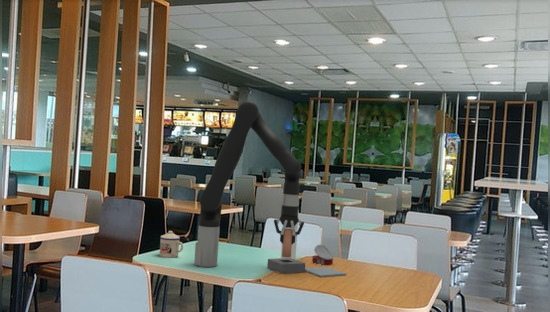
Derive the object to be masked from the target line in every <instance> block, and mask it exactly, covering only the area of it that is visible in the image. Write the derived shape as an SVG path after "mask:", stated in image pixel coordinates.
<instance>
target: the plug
mask: <svg viewBox="0 0 550 312" xmlns="http://www.w3.org/2000/svg"><path fill="white" fill-rule="evenodd" d="M283 235H284V236H283V248H282V247H281V248H282V257H291V249H292V235H293V232H292V229H285V230H284V234H283Z"/></svg>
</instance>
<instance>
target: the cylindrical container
mask: <svg viewBox="0 0 550 312" xmlns="http://www.w3.org/2000/svg"><path fill="white" fill-rule="evenodd" d="M299 211H300V209H298V215H299V214H300V213H299ZM294 227H295V232H297V231H298V229H299V223H297V224H296V225H295V226H294ZM285 229H292V228H289V227H288V228H285ZM283 234H284V233H283ZM297 242H298V235H296V236H295V243H293V244H292V249H291V257H282V248H283V243H281V249H280V250H281V251H280V252H281V253H280V258H292V259H295V260H297V259H296V257H297V245H298V244H297Z"/></svg>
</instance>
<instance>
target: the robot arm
mask: <svg viewBox="0 0 550 312" xmlns="http://www.w3.org/2000/svg"><path fill="white" fill-rule="evenodd" d="M251 129H252V130H253V132H255V134H256V135H257V136H258V138H259V139H260V140H261V142H262V143H263V144H264V146H265V147H266V149H267V150H268V151H269V153H270V154H271V155H272V156H273V157H274V159H276V160H277V162H278V163H280V165H281V166H282V169H284V183H283V189H282V190H283V192H282V197H281V211H280V217H279V218H275V219H274V220H273V223H274V227H275V230H276V231H275V232H276V233H277V234H279V235H280V237H279V242H280V243H281V244H282V243H283V236H284V235H283V233H284V230H285V228H288V227H289V228H292V232H293V235H292V244H293V243H295V236H296V235H297V236H298V235H300V234H301V232H302V229H303V228H304V225H305V221H304V220H303V221H302V220H300V219H299V214H298V210H300V209H299V208H300V207H299V205H300V175H301V171H302V165H301V162H300V161H299V160H298V159H297V158H296V157H295V156H294V155H293V153H291V152H290V149H288V147H287V146H286V145H285V143H284V142H283V141H282V139H281V138H280V137H279V135H277V134H276V133H275V132H274V130H272V129H271V127H270V126H268V124H267V122H266V121H265V120H264V119H263V117H262V115H261V113H260V110H259V107H258V106H257V103H255V102H254V101H252V100H244V101H242V102H241V103H240V104H239V106H238V108H237V111H236V115H235V118H234V121H233V124H232V127H231V128H230V130H229V133H227V136H226V138H225V139H224V142H223V144H222V146H221V149H220V150H219V153H218V155H217V158H216V161H215V163H214V165H213V166H214V167H213V169H212V173H211V176H210V179H209V180H208V182H207V185H206V186H205V188H204V190H203V191H202V193H201V195H200V198H199V205H200V211H199V212H200V213H199V218H198V230H197V241H196V242H195V246H194V248H195V249H194V261H193V262H194V263H193V264H194V265H195V266H197V267H201V268H203V267H205V268H213V267H216V266H218V256H219V255H218V254H219V245H220V244H219V242H220V241H219V240H220V225H221V218H222V217H221V216H222V207H223V206H222V205H223V204H222V203H223V195H224V194H223V193H224V191H225V188H226V185H227V183H228V182H229V180H230V179H231V176H232V175H233V173H234V171H235V169H236V168H237V166H238V163H239V161H240V158H241V157H242V154H243V152H244V148H245V144H246V139H247V137H248V133H249V131H250V130H251ZM279 223H281V225H282V228H281V230H280V228H279ZM297 223H298V230H297V232H295V227H294V226H295V225H296V224H297Z"/></svg>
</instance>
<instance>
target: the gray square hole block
mask: <svg viewBox="0 0 550 312" xmlns="http://www.w3.org/2000/svg"><path fill="white" fill-rule="evenodd" d="M266 266H267V267H266V268H267V269H269V270H271V271H274V272H276V271H277V272H276V273H278V272H279V273H278V274H281V273H282V274H281V275H284V274H283V273H288V274H299V273H298V272H302V273H305V268H306V263H305V262H303V261H300V260H298V259H296V260H295V259H292V258H281V257H280V258H278V257H277V258H268V259H267V265H266Z"/></svg>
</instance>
